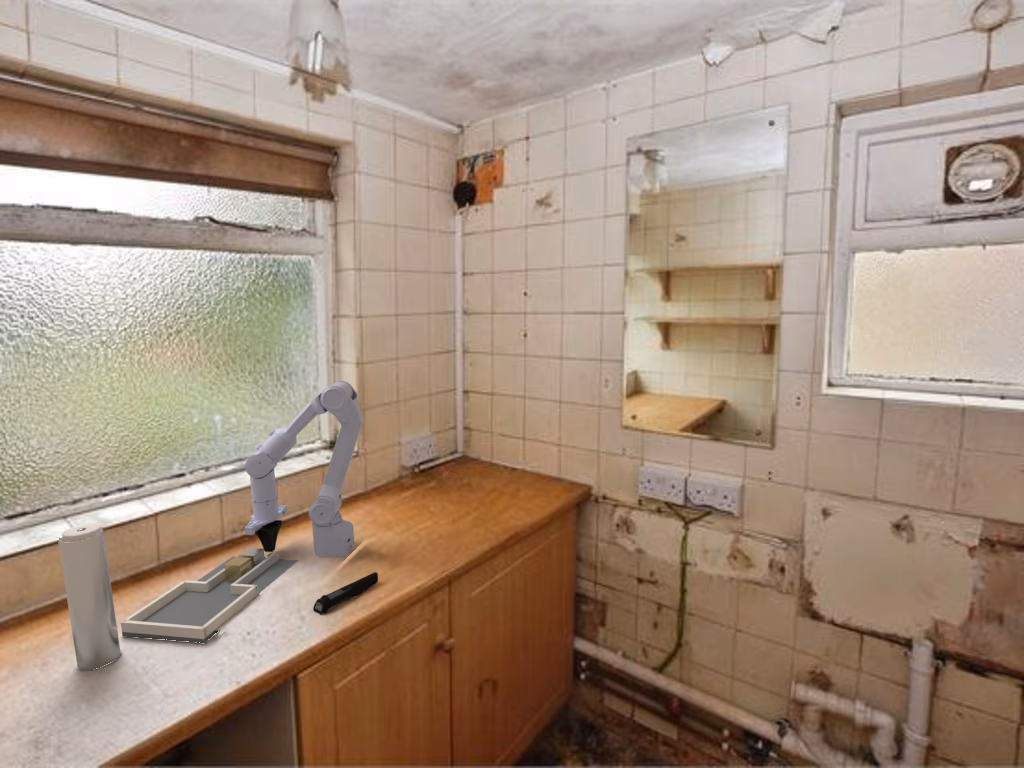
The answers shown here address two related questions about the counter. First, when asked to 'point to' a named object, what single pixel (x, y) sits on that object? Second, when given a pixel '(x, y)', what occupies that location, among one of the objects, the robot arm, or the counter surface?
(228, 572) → the mustard yellow cube
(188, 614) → the channel board
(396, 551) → the counter surface
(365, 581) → the electric trimmer
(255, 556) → the light grey cube
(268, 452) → the robot arm
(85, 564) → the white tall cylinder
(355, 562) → the counter surface
